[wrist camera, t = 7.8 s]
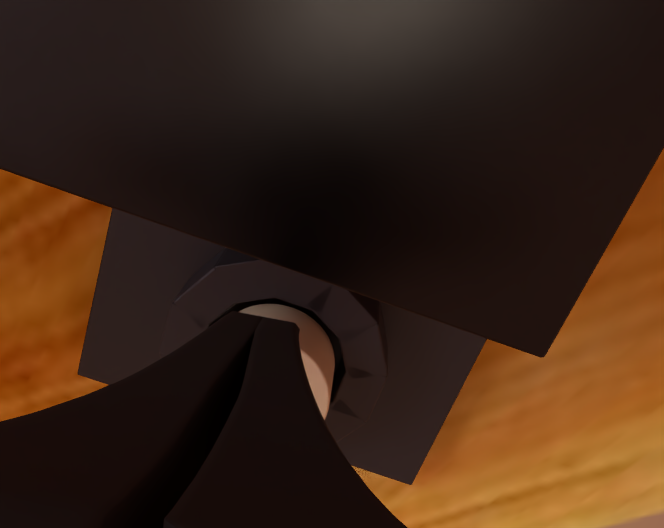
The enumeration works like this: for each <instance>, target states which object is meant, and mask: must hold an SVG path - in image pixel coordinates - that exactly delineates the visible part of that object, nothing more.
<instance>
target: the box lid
mask: <svg viewBox="0 0 664 528" xmlns="http://www.w3.org/2000/svg"><path fill="white" fill-rule="evenodd" d="M663 148H664V0H0V169H2V170H5V171H8V172H11V173H14V174H16V175H19V176H22V177H25V178H28V179H31V180H34V181H36V182H39V183H42V184H45V185H48V186H51V187H54V188H57V189H59V190H62V191H65V192H68V193H71V194H74V195H77V196H79V197H82V198H85V199H88V200H91V201H94V202H97V203H100V204H102V205H105V206H108V207H111V208H114V209H117V210H120V211H122V212H125V213H128V214H131V215H134V216H137V217H140V218H143V219H145V220H148V221H151V222H154V223H157V224H160V225H163V226H165V227H168V228H171V229H174V230H177V231H180V232H183V233H186V234H188V235H191V236H194V237H197V238H200V239H203V240H206V241H208V242H211V243H214V244H217V245H220V246H223V247H226V248H229V249H231V250H234V251H237V252H240V253H243V254H246V255H249V256H251V257H254V258H257V259H260V260H263V261H266V262H269V263H272V264H274V265H277V266H280V267H283V268H286V269H289V270H292V271H294V272H297V273H300V274H303V275H306V276H309V277H312V278H315V279H317V280H320V281H323V282H326V283H329V284H332V285H335V286H337V287H340V288H343V289H346V290H349V291H352V292H355V293H358V294H360V295H363V296H366V297H369V298H372V299H375V300H378V301H380V302H383V303H386V304H389V305H392V306H395V307H398V308H401V309H403V310H406V311H409V312H412V313H415V314H418V315H421V316H423V317H426V318H429V319H432V320H435V321H438V322H441V323H444V324H446V325H449V326H452V327H455V328H458V329H461V330H464V331H466V332H469V333H472V334H475V335H478V336H481V337H484V338H487V339H489V340H492V341H495V342H498V343H501V344H504V345H507V346H509V347H512V348H515V349H518V350H521V351H524V352H527V353H530V354H532V355H535V356H538V357H544V356H545V355H546V353H547V352H548V350H549V348H550V346H551V345H552V343H553V341H554V339H555V338H556V336H557V334H558V332H559V331H560V329H561V327H562V325H563V324H564V322H565V320H566V318H567V317H568V315H569V313H570V311H571V310H572V308H573V306H574V304H575V303H576V301H577V299H578V297H579V296H580V294H581V292H582V290H583V289H584V287H585V285H586V283H587V281H588V280H589V278H590V276H591V274H592V273H593V271H594V269H595V267H596V266H597V264H598V262H599V260H600V259H601V257H602V255H603V253H604V252H605V250H606V248H607V246H608V245H609V243H610V241H611V239H612V238H613V236H614V234H615V232H616V231H617V229H618V227H619V225H620V224H621V222H622V220H623V218H624V217H625V215H626V213H627V211H628V209H629V208H630V206H631V204H632V202H633V201H634V199H635V197H636V195H637V194H638V192H639V190H640V188H641V187H642V185H643V183H644V181H645V180H646V178H647V176H648V174H649V173H650V171H651V169H652V167H653V166H654V164H655V162H656V160H657V159H658V157H659V155H660V153H661V152H662V150H663Z"/></svg>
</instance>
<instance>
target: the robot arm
mask: <svg viewBox="0 0 664 528" xmlns="http://www.w3.org/2000/svg"><path fill="white" fill-rule="evenodd" d="M299 332H300V329H299V327H298V326H297V324H296V323H294V322H289V321H283V320H278V319H273V318H267V317H262V316H257V315H251V314H246V313H241V312H236V311H232V312H230V313H228V314H227V315H225V316H224V317H222V318H221V319H220V320H218V321H217V322H215V323H214V324H213V325H211V326H210V327H208V328H207V329H206V330H204V331H203V332H201V333H200V334H198V335H197V336H196V337H194V338H193V339H191V340H190V341H188V342H187V343H185V344H184V345H182V346H181V347H179V348H177V349H176V350H174V351H173V352H171V353H170V354H168V355H166V356H165V357H163V358H161V359H159V360H158V361H156V362H154V363H152V364H151V365H149V366H147V367H145V368H144V369H142V370H140V371H138V372H136V373H134V374H132V375H130V376H128V377H126V378H124V379H122V380H120V381H118V382H115V383H113V384H111V385H108V386H106V387H104V388H102V389H99V390H97V391H95V392H92V393H90V394H87V395H84V396H81V397H79V398H76V399H73V400H70V401H67V402H64V403H61V404H58V405H55V406H52V407H49V408H47V409H44V410H41V411H38V412H34V413H31V414H27V415H24V416H20V417H16V418H13V419H9V420H5V421H1V422H0V528H407V527H406V526H405V525H404V524H403V523H402V522H401V521H399V520H398V519H397V518H396V517H395V516H394V515H393V514H392V513H391V512H390V511H389V510H388V509H387V508H386V507H385V506H384V505H383V504H382V503H381V501H380V500H379V499H378V498H377V497H376V496H375V495H374V494H373V493H372V492H371V491H370V489H369V488H368V487H367V486H366V484H365V483H364V482H363V480H362V479H361V478H360V476H359V475H358V474H357V473H356V471H355V470H354V469H353V467H352V466H351V465H350V463H349V462H348V460H347V459H346V457H345V456H344V454H343V452H342V451H341V449H340V448H339V446H338V444H337V443H336V441H335V439H334V437H333V436H332V434H331V432H330V430H329V428H328V426H327V424H326V422H325V420H324V418H323V416H322V414H321V412H320V410H319V407H318V405H317V403H316V400H315V398H314V395H313V393H312V390H311V387H310V384H309V381H308V378H307V375H306V371H305V368H304V364H303V360H302V356H301V350H300V344H299Z"/></svg>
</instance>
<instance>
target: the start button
mask: <svg viewBox="0 0 664 528" xmlns="http://www.w3.org/2000/svg"><path fill="white" fill-rule="evenodd" d="M239 312H241V313H246V314H251V315H257V316H262V317H267V318H273V319H278V320H283V321H289V322H294V323H296V324H297V326H298V327H299V329H300V332H299V344H300V350H301V356H302V360H303V364H304V368H305V371H306V375H307V378H308V381H309V384H310V387H311V390H312V393H313V395H314V398H315V400H316V403H317V405H318V407H319V410H320V412H321V414H322V416H323V418H324V420H325V418H326V416H327V413H328V410H329V404H330V397H331V390H332V383H333V375H334V368H335V356H334V350H333V347H332V344H331V341H330V339H329V337H328V336H327V334H326V332H325V331H324V330H323V329H322V327H321V326H320V325H319V324H318V323H317V322H316V321H315V320H314V319H312V318H311V317H310V316H308V315H307V314H305V313H303V312H301V311H299V310H297V309H295V308H292V307H289V306H285V305H279V304H259V305H255V306H251V307H248V308H245V309H243V310H241V311H239Z"/></svg>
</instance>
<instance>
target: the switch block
mask: <svg viewBox="0 0 664 528" xmlns="http://www.w3.org/2000/svg"><path fill="white" fill-rule="evenodd" d="M259 304H279V305H285V306H289V307H292V308H295V309H297V310H299V311H301V312H303V313H305V314H307V315H308V316H310V317H311V318H312V319H314V320H315V321H316V322H317V323H318V324H319V325H320V326H321V327H322V329H323V330H324V331H325V332H326V334H327V336H328V337H329V339H330V341H331V344H332V347H333V350H334V356H335V368H334V375H333V383H332V390H331V397H330V404H329V410H328V413H327V416H326V418H325V422H326V424H327V426H328V428H329V430H330V432H331V434H332V436H333V437H334V439H335V441H336V443H337V444H338V446H339V448H340V449H341V451H342V452H343V454H344V456H345V457H346V459H347V460H348V462H349V463H350V465H352V466H355V467H358V468H361V469H364V470H367V471H370V472H373V473H376V474H379V475H382V476H385V477H388V478H391V479H394V480H397V481H400V482H403V483H406V484H409V485H412V483H413V481H414V479H415V477H416V475H417V473H418V471H419V470H420V468H421V466H422V464H423V462H424V460H425V458H426V456H427V454H428V452H429V450H430V448H431V446H432V444H433V442H434V440H435V438H436V437H437V435H438V433H439V431H440V429H441V427H442V425H443V423H444V421H445V419H446V417H447V415H448V413H449V411H450V409H451V407H452V405H453V404H454V402H455V400H456V398H457V396H458V394H459V392H460V390H461V388H462V386H463V384H464V382H465V380H466V378H467V376H468V374H469V373H470V371H471V369H472V367H473V365H474V363H475V361H476V359H477V357H478V355H479V353H480V351H481V349H482V347H483V345H484V343H485V341H486V340H487V338H484V337H481V336H478V335H475V334H472V333H469V332H466V331H464V330H461V329H458V328H455V327H452V326H449V325H446V324H444V323H441V322H438V321H435V320H432V319H429V318H426V317H423V316H421V315H418V314H415V313H412V312H409V311H406V310H403V309H401V308H398V307H395V306H392V305H389V304H386V303H383V302H380V301H378V300H375V299H372V298H369V297H366V296H363V295H360V294H358V293H355V292H352V291H349V290H346V289H343V288H340V287H337V286H335V285H332V284H329V283H326V282H323V281H320V280H317V279H315V278H312V277H309V276H306V275H303V274H300V273H297V272H294V271H292V270H289V269H286V268H283V267H280V266H277V265H274V264H272V263H269V262H266V261H263V260H260V259H257V258H254V257H251V256H249V255H246V254H243V253H240V252H237V251H234V250H231V249H229V248H226V247H223V246H220V245H217V244H214V243H211V242H208V241H206V240H203V239H200V238H197V237H194V236H191V235H188V234H186V233H183V232H180V231H177V230H174V229H171V228H168V227H165V226H163V225H160V224H157V223H154V222H151V221H148V220H145V219H143V218H140V217H137V216H134V215H131V214H128V213H125V212H122V211H120V210H117V209H114V208H112V213H111V218H110V222H109V227H108V232H107V236H106V241H105V246H104V251H103V255H102V260H101V265H100V270H99V274H98V279H97V284H96V288H95V293H94V298H93V303H92V307H91V312H90V317H89V321H88V326H87V331H86V336H85V340H84V345H83V350H82V355H81V359H80V364H79V369H78V375H81V376H84V377H87V378H90V379H93V380H96V381H99V382H102V383H105V384H108V385H111V384H113V383H115V382H118V381H120V380H122V379H124V378H126V377H128V376H130V375H132V374H134V373H136V372H138V371H140V370H142V369H144V368H145V367H147V366H149V365H151V364H152V363H154V362H156V361H158V360H159V359H161V358H163V357H165V356H166V355H168V354H170V353H171V352H173V351H174V350H176V349H177V348H179V347H181V346H182V345H184V344H185V343H187V342H188V341H190V340H191V339H193V338H194V337H196V336H197V335H198V334H200V333H201V332H203V331H204V330H206V329H207V328H208V327H210V326H211V325H213V324H214V323H215V322H217V321H218V320H220V319H221V318H222V317H224V316H225V315H227V314H228V313H230V312H232V311H236V312H239V311H241V310H243V309H245V308H248V307H251V306H255V305H259Z"/></svg>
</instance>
